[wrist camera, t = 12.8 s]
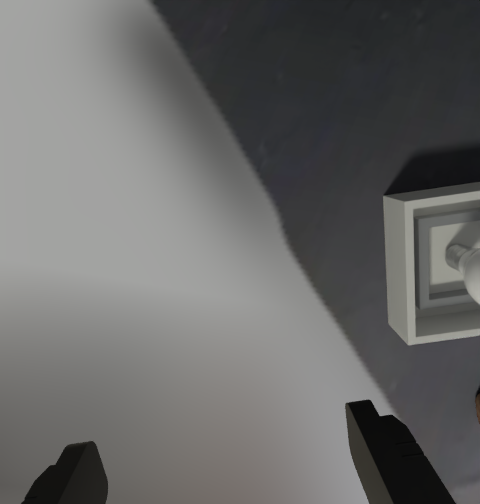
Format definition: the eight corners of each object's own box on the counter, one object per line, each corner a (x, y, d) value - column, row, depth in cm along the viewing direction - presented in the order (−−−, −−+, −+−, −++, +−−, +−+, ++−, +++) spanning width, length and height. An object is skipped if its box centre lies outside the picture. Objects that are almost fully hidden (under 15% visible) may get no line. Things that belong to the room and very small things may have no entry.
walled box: (383, 195, 39) (404, 201, 34) (525, 175, 39) (566, 178, 34) (388, 323, 43) (408, 345, 38) (517, 305, 43) (553, 325, 38)
